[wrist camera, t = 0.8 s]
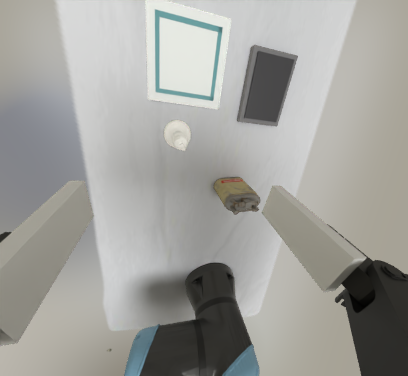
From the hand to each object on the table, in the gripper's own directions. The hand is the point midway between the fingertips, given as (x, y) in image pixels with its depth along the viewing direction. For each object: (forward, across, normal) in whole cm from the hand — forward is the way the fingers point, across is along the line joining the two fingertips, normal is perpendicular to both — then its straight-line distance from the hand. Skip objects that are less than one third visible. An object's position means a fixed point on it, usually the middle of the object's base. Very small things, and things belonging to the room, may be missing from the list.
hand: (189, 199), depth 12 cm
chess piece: (+21, 0, 0) cm, 21 cm away
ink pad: (+22, -15, -9) cm, 28 cm away
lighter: (+20, -12, +10) cm, 26 cm away
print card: (+22, -1, -11) cm, 24 cm away
